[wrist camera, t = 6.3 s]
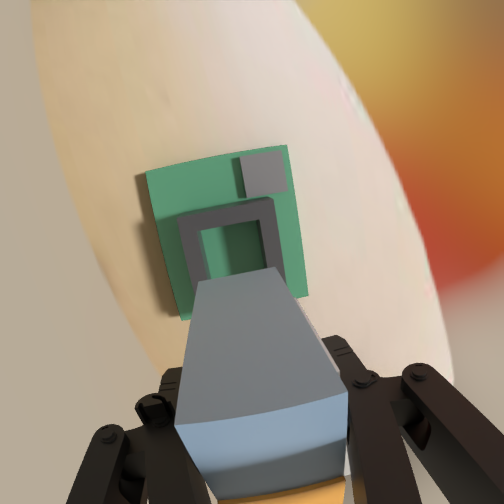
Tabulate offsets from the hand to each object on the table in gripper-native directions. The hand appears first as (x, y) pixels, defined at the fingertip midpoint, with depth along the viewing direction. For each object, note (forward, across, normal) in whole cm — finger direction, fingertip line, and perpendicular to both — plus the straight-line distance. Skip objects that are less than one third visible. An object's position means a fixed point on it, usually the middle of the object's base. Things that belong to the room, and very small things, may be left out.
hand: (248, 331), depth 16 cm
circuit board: (+17, 0, +2) cm, 17 cm away
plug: (+1, 0, 0) cm, 1 cm away
